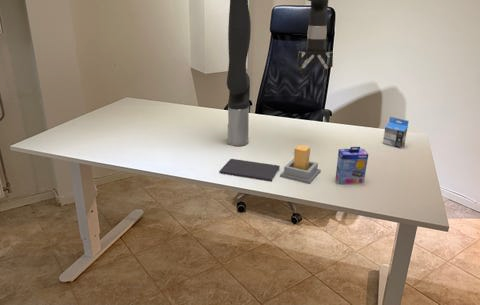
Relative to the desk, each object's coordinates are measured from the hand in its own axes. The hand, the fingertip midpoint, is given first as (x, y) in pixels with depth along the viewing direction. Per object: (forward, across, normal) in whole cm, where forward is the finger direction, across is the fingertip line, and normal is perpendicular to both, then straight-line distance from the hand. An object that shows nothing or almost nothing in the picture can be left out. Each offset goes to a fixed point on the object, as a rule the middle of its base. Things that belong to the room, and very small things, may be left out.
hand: (313, 77), depth 165 cm
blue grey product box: (+32, +39, +7) cm, 51 cm away
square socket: (+32, -5, -27) cm, 42 cm away
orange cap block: (+31, -5, -27) cm, 41 cm away
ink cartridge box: (+32, +13, -31) cm, 47 cm away
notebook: (+33, -25, -25) cm, 48 cm away
